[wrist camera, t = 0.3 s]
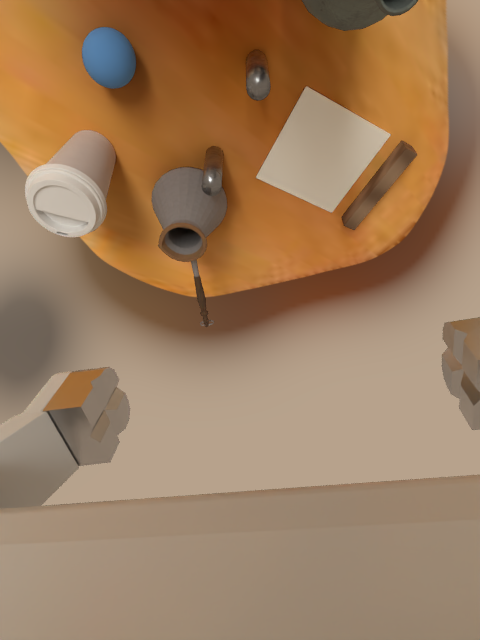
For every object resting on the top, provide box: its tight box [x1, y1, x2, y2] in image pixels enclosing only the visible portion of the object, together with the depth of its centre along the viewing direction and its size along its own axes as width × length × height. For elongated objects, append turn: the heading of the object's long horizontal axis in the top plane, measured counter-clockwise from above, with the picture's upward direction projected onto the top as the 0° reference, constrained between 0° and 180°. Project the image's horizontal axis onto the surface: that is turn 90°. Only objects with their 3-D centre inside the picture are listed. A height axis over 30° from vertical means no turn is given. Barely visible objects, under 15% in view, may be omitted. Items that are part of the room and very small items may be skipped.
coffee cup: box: [25, 130, 116, 237], centre depth 53 cm, size 10×10×15 cm
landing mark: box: [256, 86, 391, 213], centre depth 58 cm, size 14×14×1 cm
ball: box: [82, 27, 136, 88], centre depth 47 cm, size 6×6×6 cm
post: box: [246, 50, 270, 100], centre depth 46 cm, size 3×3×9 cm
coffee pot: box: [152, 167, 227, 327], centre depth 62 cm, size 21×12×15 cm, turn 9°
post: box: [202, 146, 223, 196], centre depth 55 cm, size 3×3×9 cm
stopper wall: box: [342, 141, 417, 230], centre depth 61 cm, size 14×2×2 cm, turn 154°
